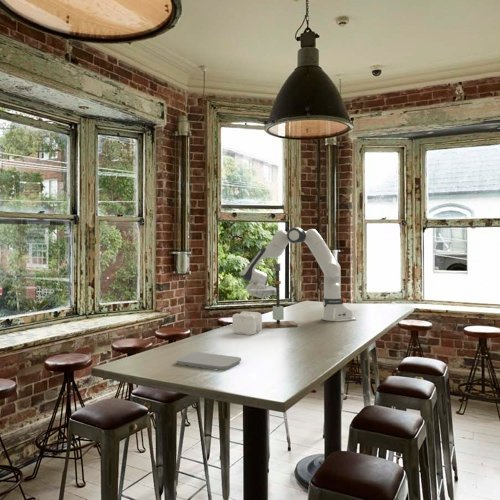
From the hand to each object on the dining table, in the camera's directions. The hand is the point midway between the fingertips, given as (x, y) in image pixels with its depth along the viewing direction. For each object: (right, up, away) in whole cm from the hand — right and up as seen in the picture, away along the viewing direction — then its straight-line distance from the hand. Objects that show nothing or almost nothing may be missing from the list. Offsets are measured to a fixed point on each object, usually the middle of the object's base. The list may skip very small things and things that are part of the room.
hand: (269, 293), depth 294 cm
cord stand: (+5, -19, -11) cm, 23 cm away
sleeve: (+5, -15, -11) cm, 19 cm away
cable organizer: (-14, -20, -32) cm, 40 cm away
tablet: (-30, -22, -95) cm, 102 cm away
